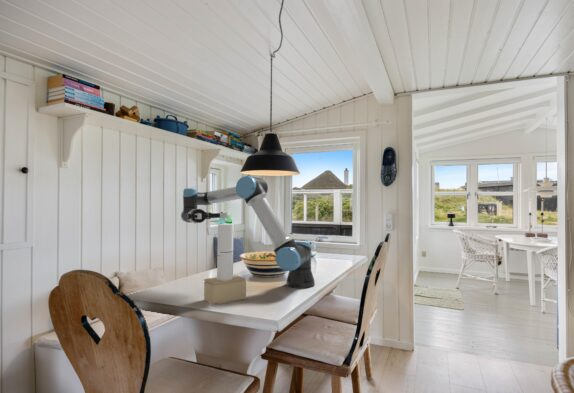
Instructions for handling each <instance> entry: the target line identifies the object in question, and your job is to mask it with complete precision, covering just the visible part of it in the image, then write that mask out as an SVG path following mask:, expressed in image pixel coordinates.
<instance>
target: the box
mask: <svg viewBox="0 0 574 393" xmlns="http://www.w3.org/2000/svg"><path fill="white" fill-rule="evenodd" d="M203 283H204V285H203V291H204V292H203V298H204V301H206V302H208V303H209V304H211V305H213V306H215V305H220V304H224V303H226V304H227V303H231V302H236V301H239V300H245V299H247V280H245V281H241V282H235V283H228V284H222V285H216V286H213V285H211V284H209V283H207V282H205V281H204V282H203Z"/></svg>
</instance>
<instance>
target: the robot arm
mask: <svg viewBox="0 0 574 393" xmlns="http://www.w3.org/2000/svg"><path fill="white" fill-rule="evenodd" d="M268 191H269V185H268V183H267V182H266V180H265V179H263V178H261V177H256V176H252V175H244V176H241V177H240V178H239V179H238V180H237V181H236V185H235V186H233V187H232V186H231V187H226V188H221V189H217V190H211V191H205V192H204V191H203V192H198V190H197V188H194V187H191V188H187V187H186V188H184V189H183V191H182V192H183V194H182V196H183V197H182V200H183V207H182V208H183V211H182V212H181V214H180V217H181V220H182V221H183V222H186V223H193V224H195V225H196V224H201V223H203V222H204V221H205V220H211V219H227V218H228V212H223V211H221V212H218V213H215V212H214V213H213V212H206V211H205V210H203V209H202V208H198V206H209V205H213V204H218V203H224V202H231V201H235V200H242V199H243V200H244V202H245V203H246V205H247V206H249V207H252V209H253V212H254V213H255V215H256V216H257V218H258V220H259V222H260V223H261V225H262V227H263V229H264V230H265V232H266V234H267V236H268V238H269V239H270V241H271V243H272V244H273V253H274V254H275V262H276V264H277V266H278V267H279V268H280V269H281V270H283V271H286V272H288V274H287V277H286V280H285V281H286V284H285V286H287V287H289V288H294V289H296V288H297V289H307V288H312V287H314V286H315V282H316V280H315V278H314V274H313V272H312V243H311V242H309V241H295V239H294V238H293V237H290V236H289V235H288V233H287V232H286V230H285V228H284V226H283V225H282V223H281V221H280V219H279V218H278V216H277V215H276V213H275V211H274V210H273V208H272V206H271V204H270V203H269V201H268V200H267V194H268Z"/></svg>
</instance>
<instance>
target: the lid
mask: <svg viewBox="0 0 574 393" xmlns="http://www.w3.org/2000/svg"><path fill="white" fill-rule="evenodd" d="M203 280H204V282H207V283H209V284H211V285H213V286H216V285H222V284H228V283H235V282H241V281H246V278H245V277H243V276H239V275H237V274H233V279H232V280H227V281H221V280H217V276H216V277H209V278H204V279H203Z"/></svg>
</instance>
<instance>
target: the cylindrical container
mask: <svg viewBox="0 0 574 393" xmlns="http://www.w3.org/2000/svg"><path fill="white" fill-rule="evenodd" d="M234 227H235V224H234V223H228V222H227V223H226V222H225V223H217V253H216V254H217V256H216V257H217V260H216V277H217V280H221V281H227V280H232V279H233V275H234V235H235V234H234V233H235V232H234V231H235V230H234V229H235V228H234Z"/></svg>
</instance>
